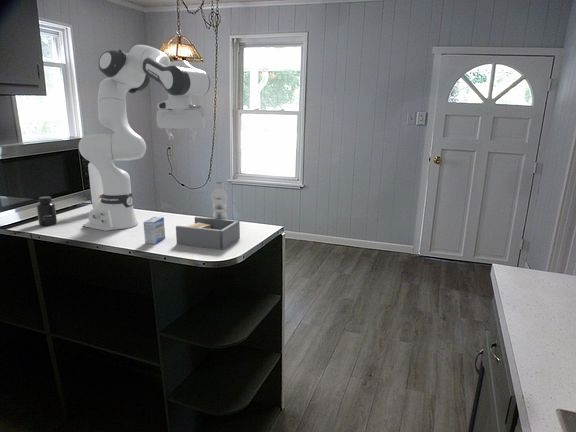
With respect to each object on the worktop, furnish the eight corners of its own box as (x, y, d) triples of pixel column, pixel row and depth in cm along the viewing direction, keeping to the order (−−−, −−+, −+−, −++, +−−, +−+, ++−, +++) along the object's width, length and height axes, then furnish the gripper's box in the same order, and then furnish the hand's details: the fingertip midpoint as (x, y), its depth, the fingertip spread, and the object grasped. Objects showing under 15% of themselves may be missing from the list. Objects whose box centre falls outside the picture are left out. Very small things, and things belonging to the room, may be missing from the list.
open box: (176, 244, 153) (175, 226, 151) (196, 233, 167) (196, 216, 165) (223, 249, 148) (222, 231, 146) (239, 237, 162) (239, 220, 160)
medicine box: (155, 244, 153) (154, 222, 150) (144, 243, 153) (143, 221, 151) (165, 238, 160) (164, 217, 158) (155, 237, 161) (153, 216, 159)
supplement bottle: (47, 227, 173) (43, 199, 170) (35, 225, 175) (31, 198, 172) (61, 223, 179) (57, 196, 176) (49, 221, 181) (45, 195, 178)
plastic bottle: (225, 232, 169) (224, 184, 164) (210, 231, 170) (208, 183, 165) (230, 227, 175) (229, 182, 170) (215, 226, 176) (213, 181, 171)
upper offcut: (182, 234, 156) (182, 227, 156) (199, 229, 164) (199, 222, 163) (194, 237, 153) (193, 229, 152) (210, 232, 161) (210, 224, 160)
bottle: (114, 210, 203) (109, 153, 196) (103, 213, 196) (97, 155, 189) (100, 209, 206) (95, 153, 199) (89, 212, 198) (82, 154, 191)
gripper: (207, 105, 160) (209, 140, 163) (162, 104, 166) (164, 139, 169) (200, 104, 154) (201, 141, 158) (153, 104, 160) (155, 140, 163)
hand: (182, 140), depth 163 cm, fingers open, 8 cm apart
